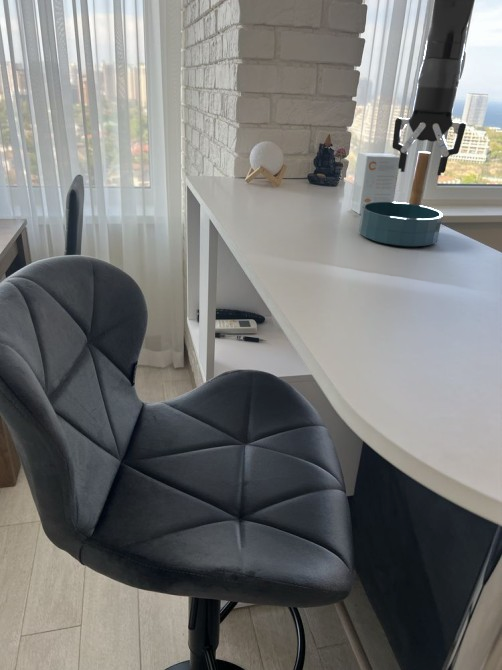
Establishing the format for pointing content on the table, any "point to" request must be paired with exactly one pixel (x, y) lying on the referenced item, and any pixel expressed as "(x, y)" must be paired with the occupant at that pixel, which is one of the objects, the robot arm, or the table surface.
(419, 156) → the wooden stick
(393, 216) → the bowl
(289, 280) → the table surface
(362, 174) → the small box
